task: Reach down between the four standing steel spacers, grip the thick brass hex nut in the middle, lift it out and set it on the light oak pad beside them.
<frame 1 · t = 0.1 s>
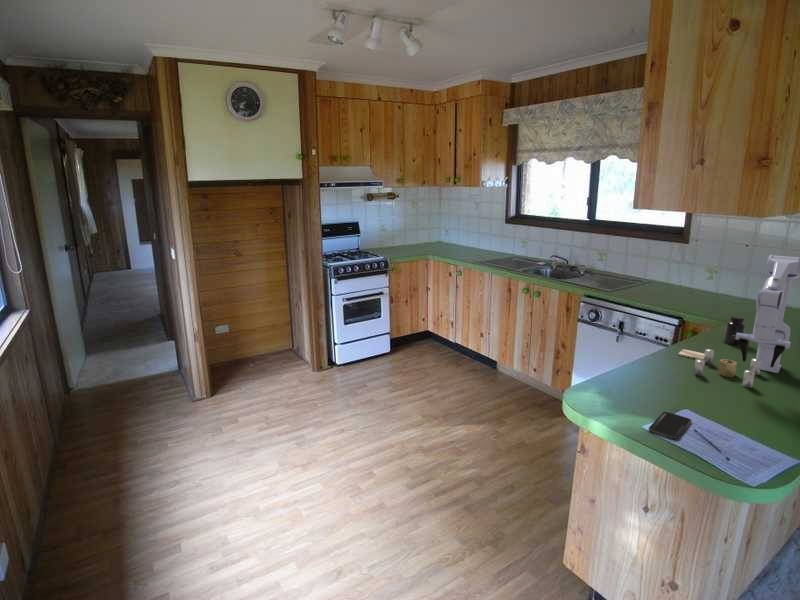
hand: (757, 363, 160), 10 cm above the countertop, tool pointing down, fingers open, 7 cm apart
steel spacers: (726, 374, 177), on the countertop
phone: (670, 428, 140), on the countertop
brass nut: (726, 374, 177), on the countertop
supplement bottle: (732, 343, 209), on the countertop
oak pad: (692, 355, 195), on the countertop
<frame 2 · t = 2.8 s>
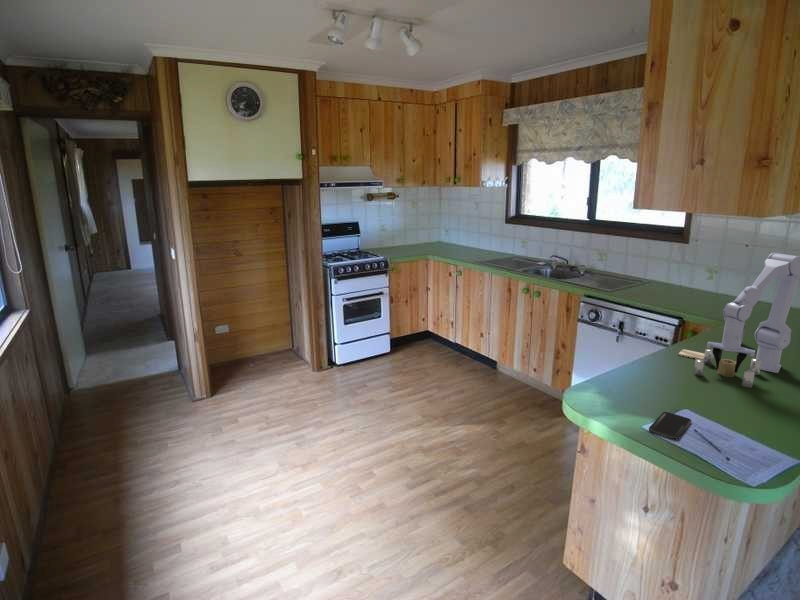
hand: (726, 369, 176), 2 cm above the countertop, tool pointing down, fingers closed on brass nut, 5 cm apart
brass nut: (726, 374, 177), on the countertop, touching gripper
everything else where it was.
when the fingers open (4 cm above the countertop, at t = 7.6 s): brass nut drops 1 cm, resting on oak pad.
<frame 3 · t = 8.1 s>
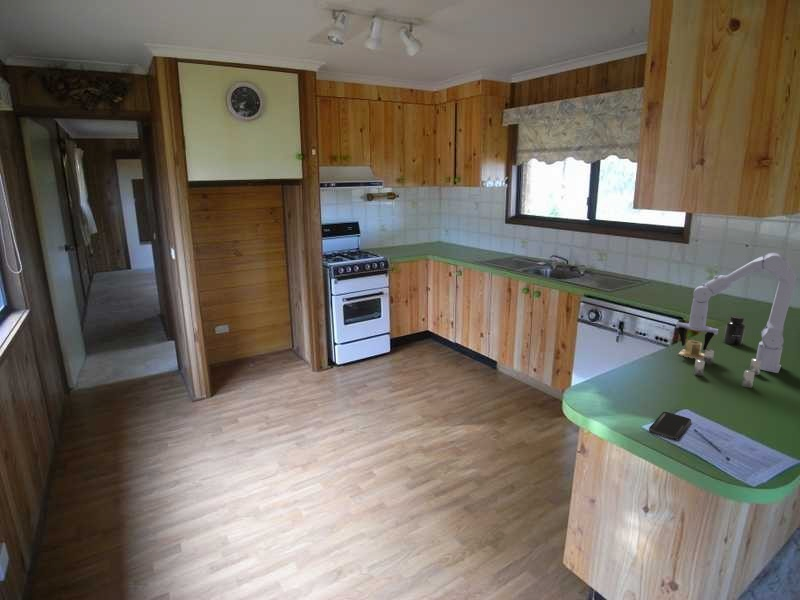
hand: (693, 347, 194), 4 cm above the countertop, tool pointing down, fingers open, 7 cm apart
brass nut: (692, 353, 195), point 1 cm above the countertop, touching oak pad
everything else where it was.
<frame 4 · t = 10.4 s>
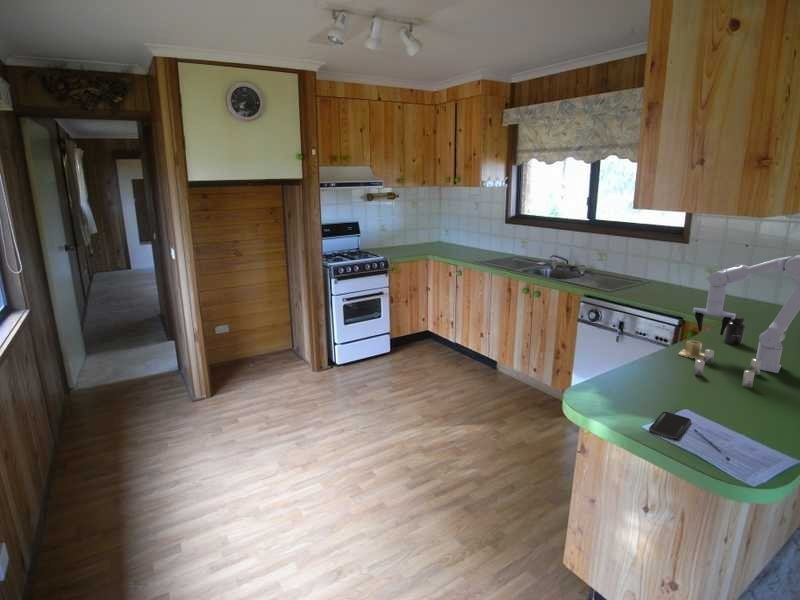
hand: (710, 332, 194), 9 cm above the countertop, tool pointing down, fingers open, 7 cm apart
nothing on the countertop moved.
at the end: brass nut 0.1 cm off-centre on the oak pad, point 0.8 cm above the oak pad's base; brass nut tilted 0°; the gripper is holding nothing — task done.
